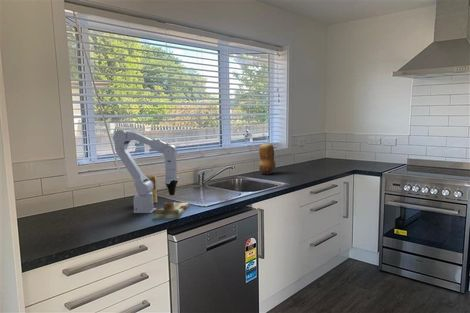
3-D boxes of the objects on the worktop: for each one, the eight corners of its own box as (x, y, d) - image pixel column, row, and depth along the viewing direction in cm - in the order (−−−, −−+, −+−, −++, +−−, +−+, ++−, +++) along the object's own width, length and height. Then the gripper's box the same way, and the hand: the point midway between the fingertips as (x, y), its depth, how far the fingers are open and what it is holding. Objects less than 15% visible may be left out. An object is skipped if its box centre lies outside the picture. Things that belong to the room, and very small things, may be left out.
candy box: (157, 201, 201) (156, 175, 199) (156, 203, 196) (155, 176, 195) (141, 201, 200) (140, 175, 198) (140, 203, 196) (138, 177, 194)
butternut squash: (257, 173, 288) (257, 142, 285) (273, 172, 289) (273, 142, 286) (260, 175, 274) (260, 144, 271) (277, 175, 275) (277, 143, 272)
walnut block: (163, 212, 170) (163, 204, 170) (166, 209, 174) (165, 202, 174) (171, 212, 170) (171, 204, 169) (174, 210, 174) (173, 202, 173)
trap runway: (153, 218, 167) (153, 210, 167) (167, 206, 189) (166, 199, 188) (178, 218, 166) (178, 210, 166) (188, 206, 188) (188, 199, 187)
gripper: (174, 171, 168) (175, 198, 170) (182, 166, 183) (183, 191, 184) (160, 171, 169) (161, 198, 171) (169, 166, 183) (170, 191, 185)
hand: (172, 195), depth 177 cm, fingers closed
